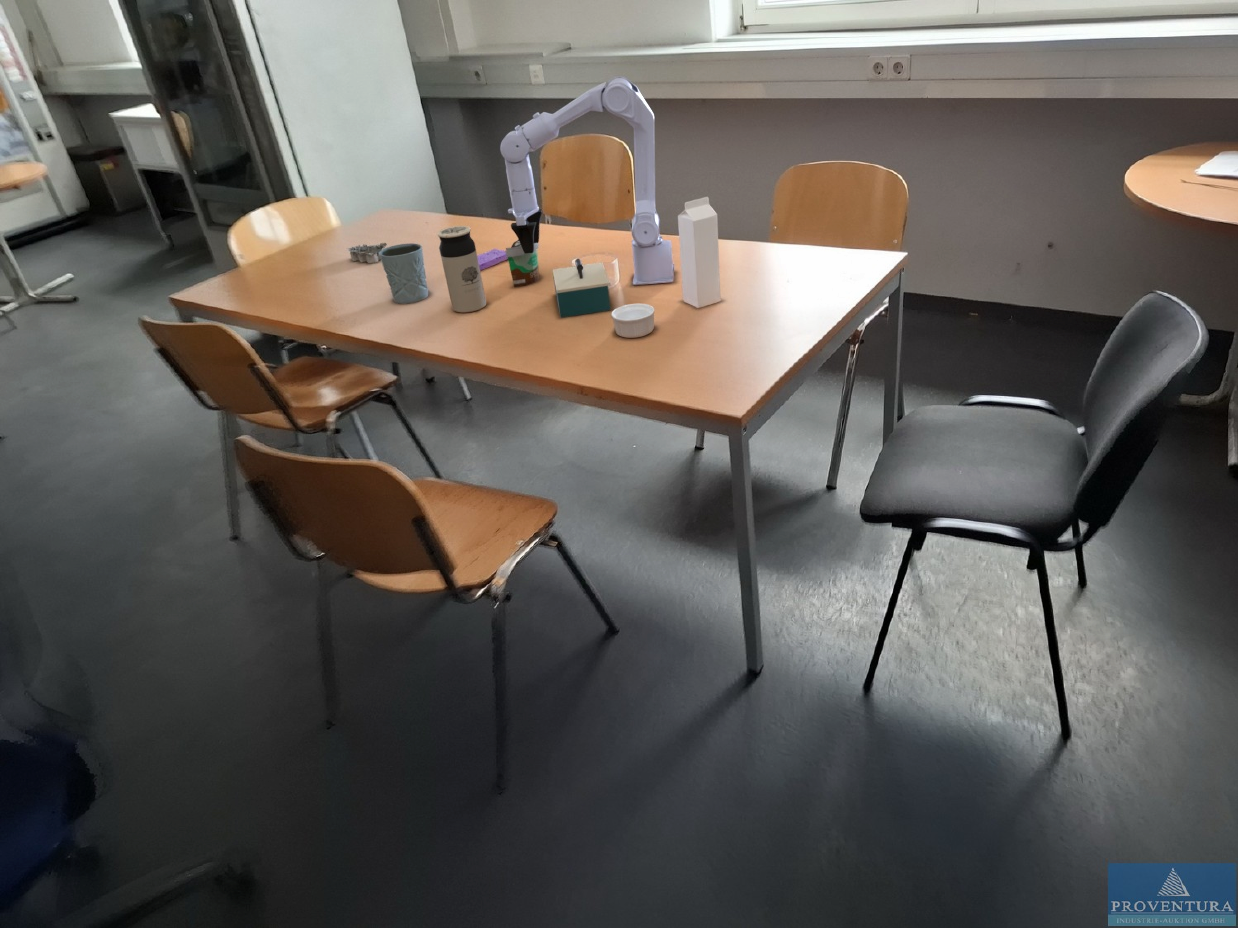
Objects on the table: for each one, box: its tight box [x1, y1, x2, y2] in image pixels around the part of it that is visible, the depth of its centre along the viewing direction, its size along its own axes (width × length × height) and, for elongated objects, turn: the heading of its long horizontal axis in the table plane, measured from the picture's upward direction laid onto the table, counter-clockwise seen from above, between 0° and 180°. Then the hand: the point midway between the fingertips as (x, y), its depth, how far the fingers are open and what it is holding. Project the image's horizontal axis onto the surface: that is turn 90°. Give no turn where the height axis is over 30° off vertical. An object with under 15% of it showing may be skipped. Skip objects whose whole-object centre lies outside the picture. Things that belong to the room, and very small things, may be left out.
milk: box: [677, 196, 722, 309], centre depth 174 cm, size 6×6×22 cm
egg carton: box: [346, 242, 388, 264], centre depth 233 cm, size 11×8×4 cm
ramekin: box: [610, 303, 655, 339], centre depth 168 cm, size 9×9×4 cm
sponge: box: [477, 248, 508, 271], centre depth 219 cm, size 7×13×2 cm, turn 136°
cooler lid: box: [551, 258, 611, 293], centre depth 183 cm, size 12×15×4 cm
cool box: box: [552, 275, 612, 319], centre depth 185 cm, size 11×15×6 cm
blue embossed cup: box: [379, 242, 429, 305], centre depth 199 cm, size 10×10×12 cm
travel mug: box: [436, 225, 487, 314], centre depth 187 cm, size 8×8×18 cm
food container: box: [505, 238, 540, 288], centre depth 201 cm, size 12×6×10 cm, turn 169°
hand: (531, 247), depth 193 cm, fingers open, 7 cm apart
